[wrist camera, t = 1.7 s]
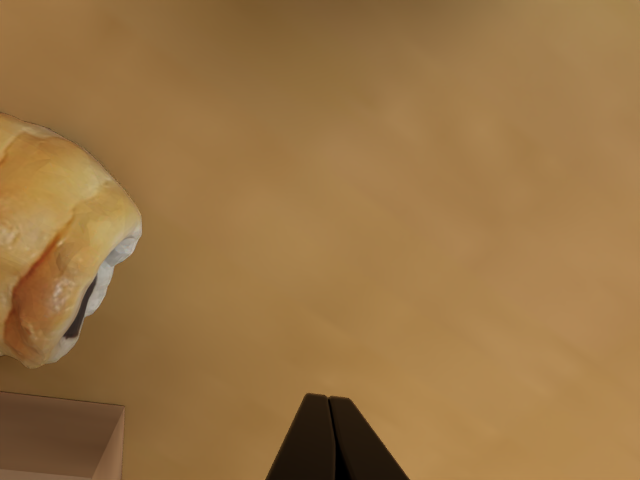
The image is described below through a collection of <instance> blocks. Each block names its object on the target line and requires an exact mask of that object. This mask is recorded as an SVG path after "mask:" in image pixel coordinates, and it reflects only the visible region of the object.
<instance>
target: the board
mask: <svg viewBox="0 0 640 480" xmlns="http://www.w3.org/2000/svg"><path fill="white" fill-rule="evenodd" d="M124 416H125V406H118V405H109V404H101V403H92V402H83V401H75V400H66V399H57V398H49V397H40V396H31V395H23V394H14V393H6V392H0V480H121V477H122V457H123V436H124Z"/></svg>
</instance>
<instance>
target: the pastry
mask: <svg viewBox="0 0 640 480" xmlns="http://www.w3.org/2000/svg"><path fill="white" fill-rule="evenodd" d="M141 236H142V220H141V214H140V212H139V210H138V208H137V207H136V205H135V203H134V202H133V201H132V199H131V198H130V197H129V195H128V194H127V193H126V191H125V190H124V189H123V188H122V187H121V185H120V184H119V183H118V182H117V181H116V180H115V179H114V178H113V177H112V176H111V175H110V174H109V173H108V172H107V171H106V170H105V169H104V168H103V166H102V165H101V164H100V163H99V162H98V161H97V160H96V159H95V158H94V157H93V156H92V155H91V154H90V153H89V152H88V151H86V150H85V149H83V148H82V147H80V146H79V145H77V144H75V143H73V142H72V141H70V140H68V139H66V138H64V137H62V136H60V135H59V134H57V133H55V132H53V131H52V130H51V129H49V128H46V127H43V126H39V125H35V124H32V123H28V122H24V121H21V120H20V119H18V118H16V117H14V116H11V115H8V114H4V113H1V112H0V356H2V355H7V356H11V357H13V358H15V359H17V360H19V361H20V362H21V363H22V364H23V365H24V366H26V367H28V368H38V367H40V366H42V365H43V364H50V363H55V362H57V361H58V360H59V359H60V358H61V357H63V356H64V355H66V354H67V353H68V352H69V351H70V349H72V348H73V347H74V345H75V344H76V342H77V340H78V338H79V335H80V332H81V328H82V325H83V322H84V318H85V317H86V316H89V315H91V314H93V313H94V312H95V311H96V309H97V308H98V307H99V306H100V304H101V302H102V300H103V299H104V297H105V295H106V291H107V287H108V285H109V283H110V281H111V278H112V275H113V270H114V266H115V265H116V264H118V263H120V262H123V261H124V260H125V259H126V258H128V257H129V256H130V255H131V254H132V253H133V252H134V250H135V246H136V244H137V242H138V240H139V238H140V237H141Z"/></svg>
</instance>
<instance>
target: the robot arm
mask: <svg viewBox="0 0 640 480" xmlns="http://www.w3.org/2000/svg"><path fill="white" fill-rule="evenodd" d="M265 480H410V479H409V478H408V477H407V475H406V474H405V472H404V471H403V470H402V468H401V467H400V466H399V464H398V463H397V462H396V460H395V459H394V457H393V456H392V455H391V453H390V452H389V451H388V449H387V448H386V447H385V445H384V444H383V443H382V441H381V440H380V438H379V437H378V436H377V434H376V433H375V432H374V430H373V429H372V428H371V426H370V425H369V423H368V422H367V421H366V419H365V418H364V417H363V415H362V414H361V413H360V411H359V410H358V408H357V407H356V406H355V404H354V403H353V402H352V400H350V399H349V398H345V397H337V396H330V397H328V398H327V396H325V395H321V394H313V393H307V394H306V395H305V396H304V398H303V401H302V403H301V405H300V407H299V409H298V411H297V413H296V415H295V418H294V420H293V422H292V424H291V426H290V428H289V430H288V432H287V435H286V437H285V439H284V441H283V443H282V445H281V447H280V450H279V452H278V454H277V456H276V458H275V460H274V462H273V464H272V467H271V469H270V471H269V473H268V475H267V477H266V479H265Z"/></svg>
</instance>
